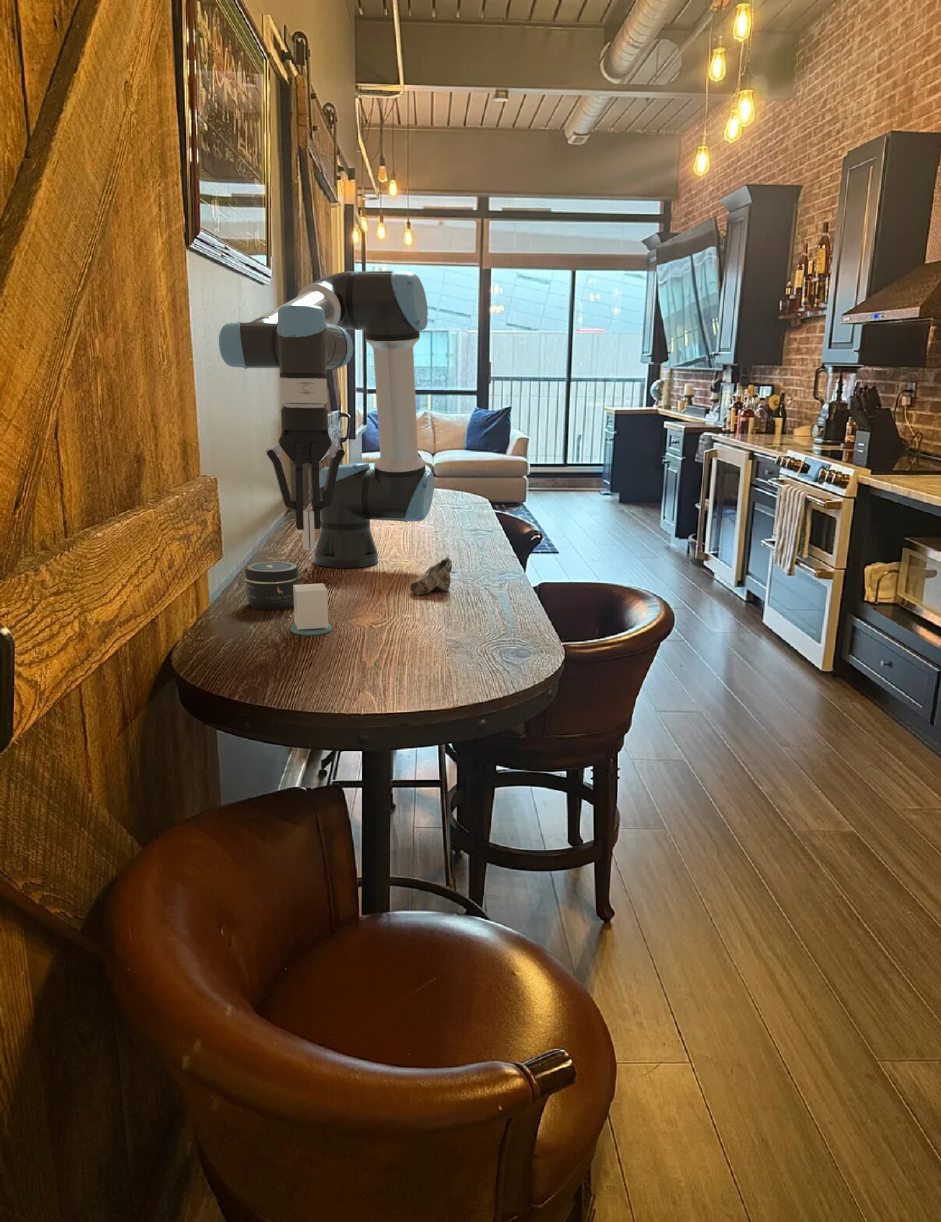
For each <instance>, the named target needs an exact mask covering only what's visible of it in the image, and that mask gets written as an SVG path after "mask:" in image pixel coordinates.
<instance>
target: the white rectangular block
mask: <svg viewBox="0 0 941 1222" xmlns="http://www.w3.org/2000/svg"><path fill="white" fill-rule="evenodd" d="M293 593H294V606H293V615H294V619H293V620H294V624H296V626H297V629H313V628H328V623H329V601H328V600H329V597H328V594H329V593H328V589H327V587H326V585H325V584H324V582H323V583H305V584H304V583H302V584H298V585H293Z"/></svg>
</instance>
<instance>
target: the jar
mask: <svg viewBox="0 0 941 1222" xmlns="http://www.w3.org/2000/svg"><path fill="white" fill-rule="evenodd" d="M298 567H299V566H298V565H297V564H296V563H293V562H289V561H279V560H278V561H277V560H276V561H260V562H255V563H252V564H251V563H250V564H248V565H247V566H246V567H245V570H244V571H245V574H244V576H245V577H244V579H245V589H246V590H245V591H246V599H247V602H248V605H249V606H251V608H253V609H255V610H260V611H281V610H287V609H290V608H294V593H293V585H299V568H298Z"/></svg>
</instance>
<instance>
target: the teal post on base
mask: <svg viewBox="0 0 941 1222" xmlns="http://www.w3.org/2000/svg"><path fill="white" fill-rule="evenodd" d="M332 630H333V626H332V624H330V623H329V622H328V628H313V629H297V626H296V624H295V623H294V624H292V625H291V626H290V631H291V632H292V634H294V635H299V636H320V635H326V634H327V633H330V632H332Z"/></svg>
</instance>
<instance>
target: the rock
mask: <svg viewBox="0 0 941 1222" xmlns="http://www.w3.org/2000/svg"><path fill="white" fill-rule="evenodd" d="M452 563H453V561H452V560H451V559H450V556H449V555H447V556H446V557H445V558H444V559H441V560H440V561H439V562H438V563H435V564H433V565H432V566H431V567H429V568H428V569H427V570H425V572H424V574H423V575H422V576H420V577H418V578H416V579H415V580H414V581H413V582H412V583H411V584H410V586H409V589H410V590H409V591H411V592H412V593H413V594H415V595H416V596H420V595H426V594H430V592H432V591H433V592H441V593H442V592H448V591H449V589H450V585H451V581H452V579H451V572H452V569H453V564H452Z"/></svg>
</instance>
